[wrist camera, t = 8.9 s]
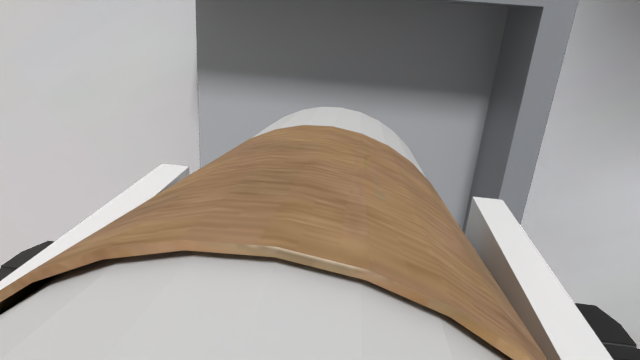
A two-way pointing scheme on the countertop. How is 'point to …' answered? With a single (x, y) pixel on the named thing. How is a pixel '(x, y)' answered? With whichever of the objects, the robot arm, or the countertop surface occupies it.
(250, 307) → the coffee cup
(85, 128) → the countertop surface
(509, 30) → the dock
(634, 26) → the countertop surface
